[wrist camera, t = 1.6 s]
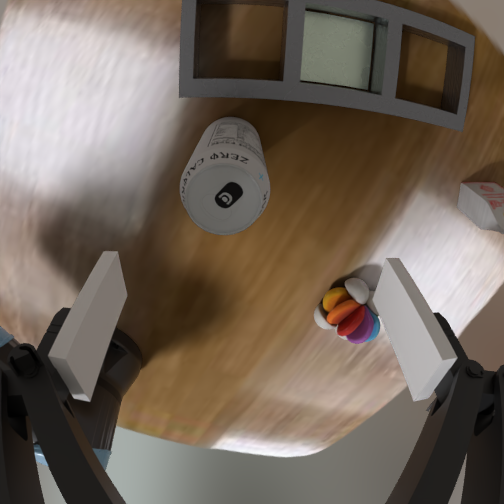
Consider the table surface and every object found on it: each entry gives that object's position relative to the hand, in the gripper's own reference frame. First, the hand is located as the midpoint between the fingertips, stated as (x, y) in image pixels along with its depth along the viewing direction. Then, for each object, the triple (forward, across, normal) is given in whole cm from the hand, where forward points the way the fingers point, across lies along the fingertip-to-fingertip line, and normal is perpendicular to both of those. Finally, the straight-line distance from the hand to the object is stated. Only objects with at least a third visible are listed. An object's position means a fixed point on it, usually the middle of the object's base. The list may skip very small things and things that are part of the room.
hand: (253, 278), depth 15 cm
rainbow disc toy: (+21, +15, -20) cm, 33 cm away
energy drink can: (+21, -2, +1) cm, 21 cm away
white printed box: (+21, +31, -2) cm, 38 cm away
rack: (+21, +8, +12) cm, 26 cm away
